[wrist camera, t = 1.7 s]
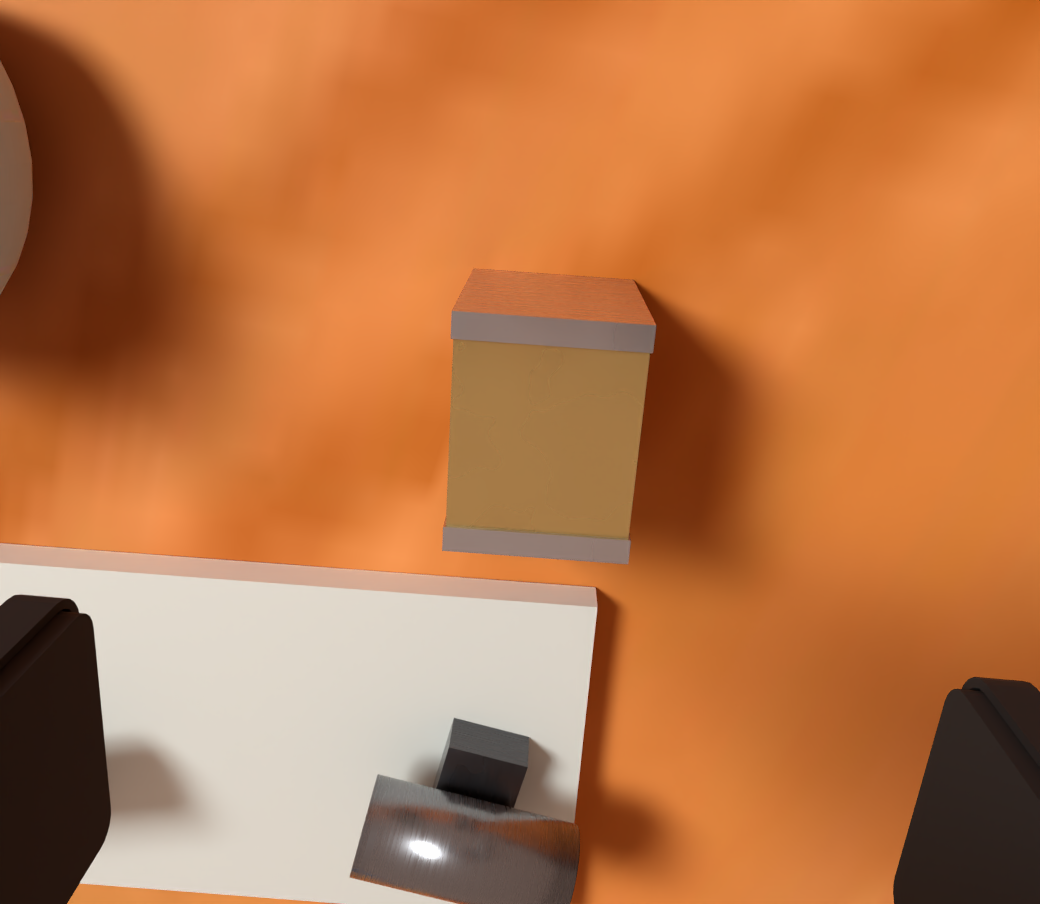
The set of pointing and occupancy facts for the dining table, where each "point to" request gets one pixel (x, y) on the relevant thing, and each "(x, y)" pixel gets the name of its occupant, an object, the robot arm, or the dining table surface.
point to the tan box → (546, 415)
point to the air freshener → (13, 180)
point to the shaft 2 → (468, 829)
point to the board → (303, 706)
